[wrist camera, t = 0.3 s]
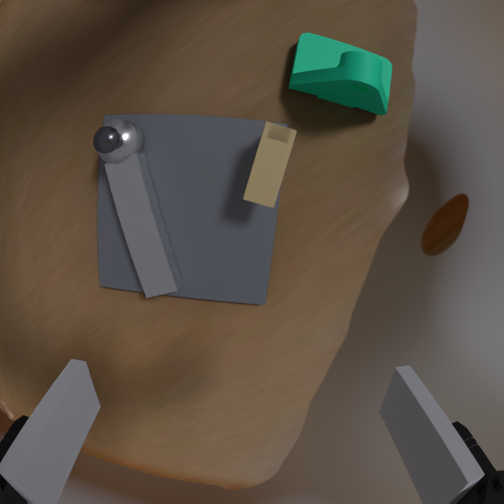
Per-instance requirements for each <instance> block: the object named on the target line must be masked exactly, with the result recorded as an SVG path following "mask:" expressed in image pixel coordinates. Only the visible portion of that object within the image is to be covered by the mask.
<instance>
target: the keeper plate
mask: <svg viewBox="0 0 504 504" xmlns="http://www.w3.org/2000/svg"><path fill="white" fill-rule="evenodd" d="M115 119H123V120H126V121H129V122H132V123H135V124H137V125H138V126H139V127H140V128H141V129H142V130H143V132H144V135H145V147H144V150H143V152H142V153H145V156H146V160H147V164H148V168H149V172H150V176H151V179H152V183H153V187H154V190H155V194H156V198H157V201H158V205H159V208H160V212H161V215H162V218H163V222H164V225H165V228H166V232H167V235H168V238H169V242H170V245H171V248H172V251H173V254H174V257H175V260H176V264H177V267H178V270H179V273H180V276H181V279H182V283H181V285H180V287H179V289H178V291H175V292H170V293H166V294H162V295H170V296H178V297H187V298H196V299H206V300H216V301H226V302H237V303H248V304H260V305H265V302H266V295H267V288H268V281H269V273H270V266H271V258H272V251H273V243H274V235H275V228H276V220H277V212H278V204H279V196H280V188H281V182H282V179H283V176H284V172H285V169H286V166H287V162H288V159H289V156H290V152H291V149H292V146H293V142H294V139H295V136H296V133H297V131H296V130H293V129H290V128H287V127H288V124H282V123H275V122H267V121H259V120H250V119H239V118H228V117H215V116H198V115H172V114H129V115H104V122H103V126H104V125H105V124H106V123H108V122H109V121H111V120H115ZM104 164H107V162H105V161H104V160H103V159H102V158H101V157H100V165H99V182H98V260H99V277H100V286H102V287H109V288H116V289H123V290H131V291H138V292H144V290H143V287H142V285H141V282H140V279H139V276H138V274H137V271H136V268H135V265H134V262H133V259H132V257H131V254H130V251H129V248H128V245H127V242H126V239H125V235H124V232H123V229H122V226H121V223H120V219H119V216H118V213H117V209H116V206H115V202H114V199H113V195H112V192H111V188H110V184H109V180H108V176H107V173H106V169H105V165H104Z"/></svg>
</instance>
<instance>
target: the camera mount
mask: <svg viewBox="0 0 504 504" xmlns="http://www.w3.org/2000/svg"><path fill="white" fill-rule="evenodd" d="M391 74H392V64H391V62H390V61H389V60H388V59H386V58H384V57H381V56H379V55H376V54H374V53H371V52H368V51H366V50H363V49H360V48H357V47H354V46H352V45H349V44H346V43H342V42H339V41H336V40H333V39H330V38H326V37H323V36H319V35H315V34H312V33H303V34H302V35H301V36H300V38H299V40H298V42H297V47H296V52H295V57H294V62H293V67H292V72H291V77H290V82H289V89H293V90H297V91H301V92H305V93H309V94H313V95H317V98H321V99H324V100H328V101H331V102H335V103H338V104H341V105H345V106H348V107H351V108H354V107H357V108H360V109H363V110H366V111H369V112H372V113H375V114H378V115H381V116H382V115H385V114H386V113H387V106H388V99H389V91H390V83H391Z"/></svg>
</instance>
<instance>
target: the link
mask: <svg viewBox="0 0 504 504" xmlns="http://www.w3.org/2000/svg"><path fill="white" fill-rule="evenodd" d="M93 143H94V147H95V149H96V150H97V151H98V154H99V156H100V157H101V158H102V159H103V160H104V161H105V162H107V164H104V165H105V169H106V173H107V176H108V180H109V184H110V188H111V192H112V195H113V199H114V202H115V206H116V209H117V213H118V216H119V219H120V223H121V226H122V229H123V232H124V235H125V239H126V242H127V245H128V248H129V251H130V254H131V257H132V259H133V262H134V265H135V268H136V271H137V274H138V276H139V279H140V282H141V285H142V287H143V290H144V293H145V295H146V298H148V297H153V296H157V295H162V294H166V293H170V292H175V291H178V289H179V287H180V285H181V283H182V279H181V276H180V273H179V270H178V267H177V264H176V260H175V257H174V254H173V251H172V248H171V245H170V242H169V238H168V235H167V232H166V228H165V225H164V222H163V218H162V215H161V212H160V208H159V205H158V201H157V198H156V194H155V190H154V187H153V183H152V179H151V176H150V172H149V168H148V164H147V160H146V156H145V153H142V152H143V150H144V147H145V135H144V132H143V130H142V129H141V128H140V127H139V126H138V125H137V124H135V123H132V122H129V121H126V120H123V119H115V120H111V121H109V122H108V123H106V124H105V125H104V126H103V127H102V128H100V129H99V130H98V131H97V132H96V134H95V136H94V140H93Z"/></svg>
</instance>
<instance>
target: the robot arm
mask: <svg viewBox="0 0 504 504" xmlns="http://www.w3.org/2000/svg"><path fill="white" fill-rule="evenodd" d="M100 408H101V406H100V403H99V400H98V398H97V395H96V392H95V389H94V386H93V383H92V380H91V376H90V373H89V370H88V367H87V363H86V361H81V360H75V359H71V360H70V362H69V363H68V364H67V366H66V367H65V368H64V370H63V371H62V372H61V374H60V375H59V376H58V378H57V379H56V380H55V382H54V383H53V384H52V386H51V387H50V389H49V390H48V391H47V393H46V394H45V396H44V397H43V399H42V400H41V401H40V403H39V404H38V406H37V407H36V409H35V410H34V411H33V413H32V414H31V416H30V417H27V416H24V415H23V416H22V417H20V418H19V419H17V420H16V421H15V422H14V423H13V424H12V426H11V427H10V429H9V430H8V433H6V435H5V436H4V439H2V441H1V442H0V504H27V503H28V504H57V502H58V499H59V497H60V495H61V492H62V490H63V488H64V485H65V483H66V480H67V478H68V476H69V473H70V471H71V469H72V467H73V465H74V462H75V460H76V458H77V455H78V454H79V451H80V449H81V447H82V445H83V443H84V441H85V438H86V436H87V434H88V432H89V430H90V428H91V426H92V424H93V422H94V420H95V418H96V416H97V414H98V412H99V410H100ZM379 413H380V415H381V417H382V419H383V421H384V423H385V425H386V427H387V429H388V431H389V433H390V435H391V437H392V439H393V441H394V443H395V445H396V447H397V449H398V451H399V454H400V456H401V458H402V460H403V462H404V464H405V466H406V468H407V470H408V473H409V475H410V477H411V479H412V481H413V483H414V486H415V488H416V490H417V492H418V494H419V497H420V499H421V501H422V503H423V504H504V471H496V469H495V468H494V467H493V466H492V464H491V463H490V461H489V459H488V458H487V456H486V455H485V454H484V452H483V451H482V449H481V448H480V446H479V445H477V442H476V440H475V439H474V438H473V436H472V435H471V433H470V432H469V430H468V429H467V428H466V427H465V426H463V425H462V424H460V423H459V422H458V421H457V422H454V423H451V422H450V421H449V419H448V418H447V417H446V415H445V413H444V412H443V411H442V409H441V408H440V407H439V405H438V404H437V402H436V401H435V399H434V398H433V397H432V395H431V394H430V392H429V391H428V390H427V388H426V387H425V386H424V384H423V383H422V381H421V380H420V379H419V377H418V376H417V375H416V373H415V372H414V371H413V369H412V368H411V367H410V365H409V366H402V367H396V368H395V370H394V373H393V376H392V379H391V381H390V384H389V387H388V390H387V392H386V395H385V398H384V400H383V403H382V406H381V408H380V410H379Z"/></svg>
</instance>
